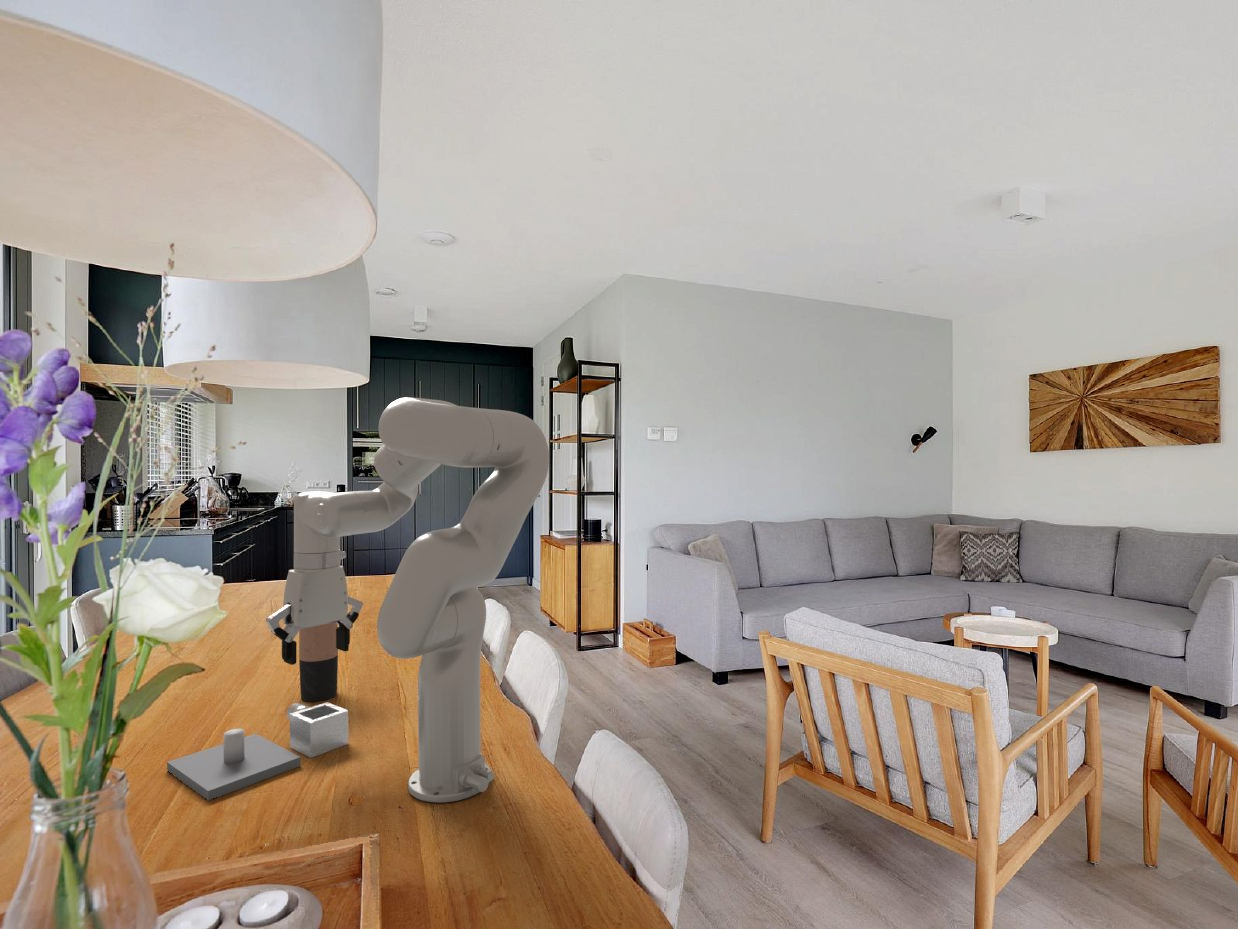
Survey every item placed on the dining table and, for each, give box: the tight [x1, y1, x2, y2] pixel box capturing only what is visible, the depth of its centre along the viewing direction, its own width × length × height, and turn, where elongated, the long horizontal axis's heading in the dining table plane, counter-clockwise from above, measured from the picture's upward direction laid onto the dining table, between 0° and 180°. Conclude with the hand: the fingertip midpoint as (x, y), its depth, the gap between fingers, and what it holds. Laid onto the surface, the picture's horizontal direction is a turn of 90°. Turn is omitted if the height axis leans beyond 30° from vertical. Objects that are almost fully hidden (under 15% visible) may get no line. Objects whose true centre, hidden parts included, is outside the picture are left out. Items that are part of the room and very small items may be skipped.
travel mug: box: [298, 622, 339, 703], centre depth 143 cm, size 8×8×20 cm
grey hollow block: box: [286, 701, 350, 759], centre depth 119 cm, size 12×7×6 cm, turn 53°
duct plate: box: [166, 728, 302, 802], centre depth 109 cm, size 16×14×6 cm
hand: (316, 656), depth 118 cm, fingers open, 9 cm apart
